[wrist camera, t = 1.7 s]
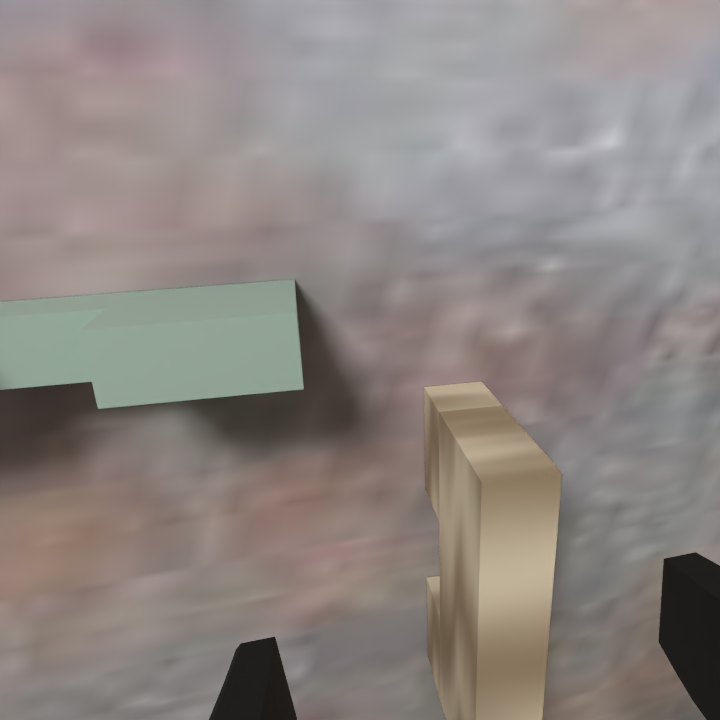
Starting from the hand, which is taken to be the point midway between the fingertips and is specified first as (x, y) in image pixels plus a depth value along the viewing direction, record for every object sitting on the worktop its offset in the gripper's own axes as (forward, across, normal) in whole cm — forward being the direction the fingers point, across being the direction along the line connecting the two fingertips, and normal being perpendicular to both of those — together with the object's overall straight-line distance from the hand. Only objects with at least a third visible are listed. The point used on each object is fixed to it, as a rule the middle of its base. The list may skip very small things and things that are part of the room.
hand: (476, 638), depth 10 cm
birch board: (+10, -2, +5) cm, 11 cm away
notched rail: (+9, +10, -5) cm, 14 cm away
